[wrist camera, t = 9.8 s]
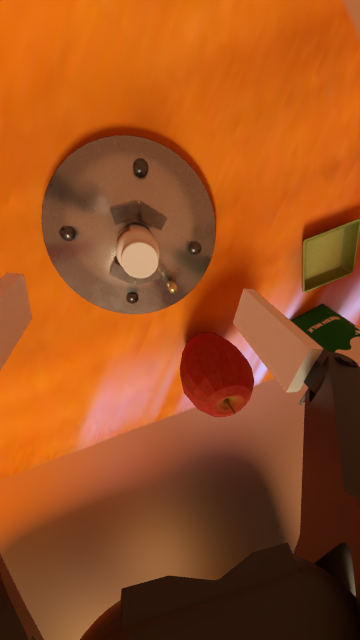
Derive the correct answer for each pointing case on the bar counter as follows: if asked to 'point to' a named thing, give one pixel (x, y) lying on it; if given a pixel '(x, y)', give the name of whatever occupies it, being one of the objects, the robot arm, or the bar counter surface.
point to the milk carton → (331, 331)
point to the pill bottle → (137, 250)
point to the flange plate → (120, 209)
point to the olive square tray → (329, 255)
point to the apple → (215, 375)
